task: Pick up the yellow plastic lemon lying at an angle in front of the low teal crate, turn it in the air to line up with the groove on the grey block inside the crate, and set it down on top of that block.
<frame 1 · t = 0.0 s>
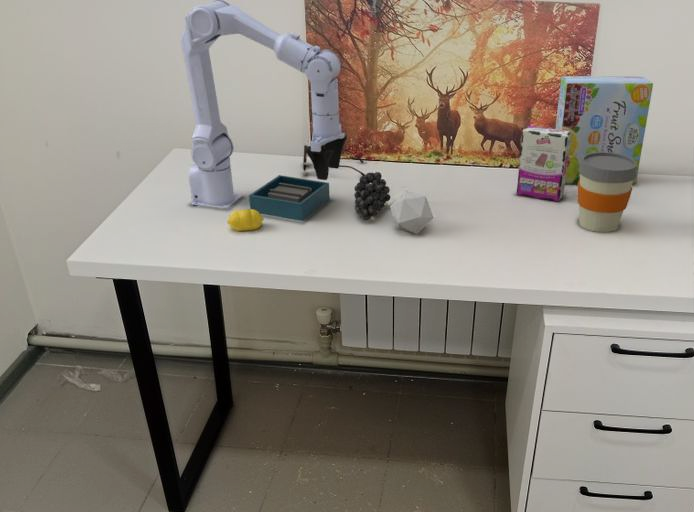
hand: (328, 173, 164), 10 cm above the table, tool pointing down, fingers open, 7 cm apart
snack box: (591, 179, 194), on the table
die: (411, 229, 165), on the table
sunglasses: (334, 170, 195), on the table
lemon: (246, 229, 162), on the table
reusable coffee cup: (598, 224, 169), on the table
grey block: (291, 205, 173), point 1 cm above the table, touching crate
crate: (291, 207, 173), on the table
candy bar box: (539, 196, 183), on the table
fruit: (368, 213, 172), on the table
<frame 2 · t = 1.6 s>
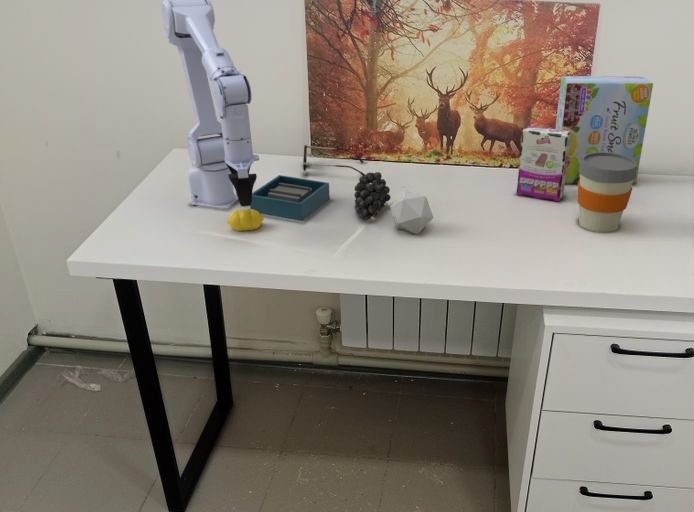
hand: (244, 198, 158), 7 cm above the table, tool pointing down, fingers open, 7 cm apart
nothing on the table moved.
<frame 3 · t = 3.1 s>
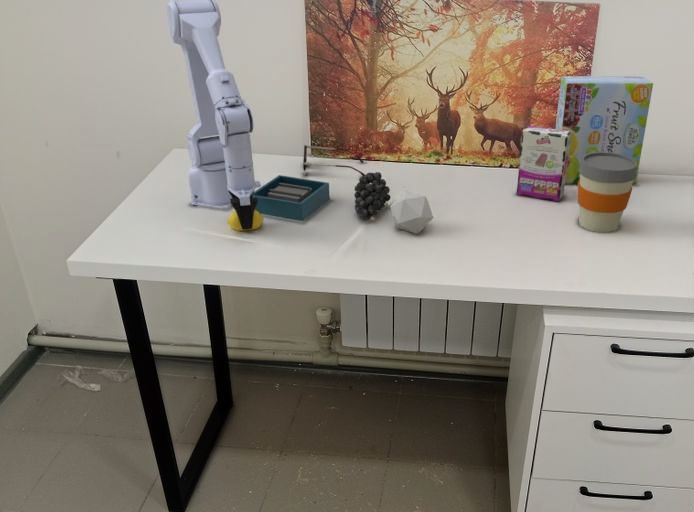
hand: (246, 224, 161), 1 cm above the table, tool pointing down, fingers closed on lemon, 4 cm apart
lemon: (246, 229, 162), on the table, touching gripper
everything else where it was.
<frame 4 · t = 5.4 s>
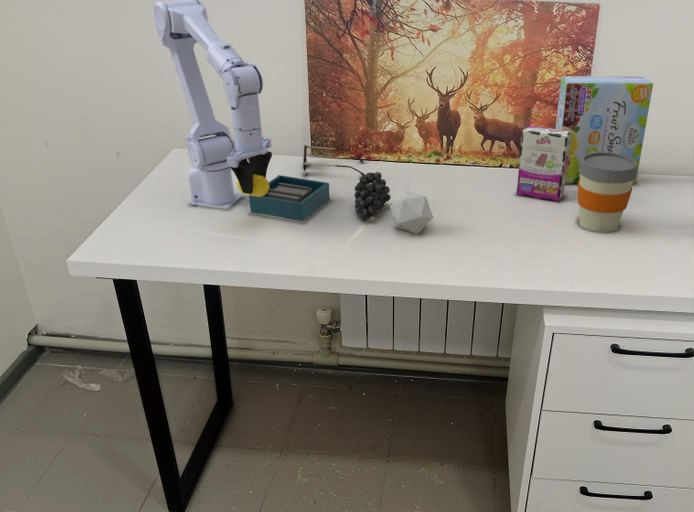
hand: (253, 188, 160), 8 cm above the table, tool pointing down, fingers closed on lemon, 4 cm apart
lemon: (254, 195, 161), point 7 cm above the table, touching gripper
everything else where it was.
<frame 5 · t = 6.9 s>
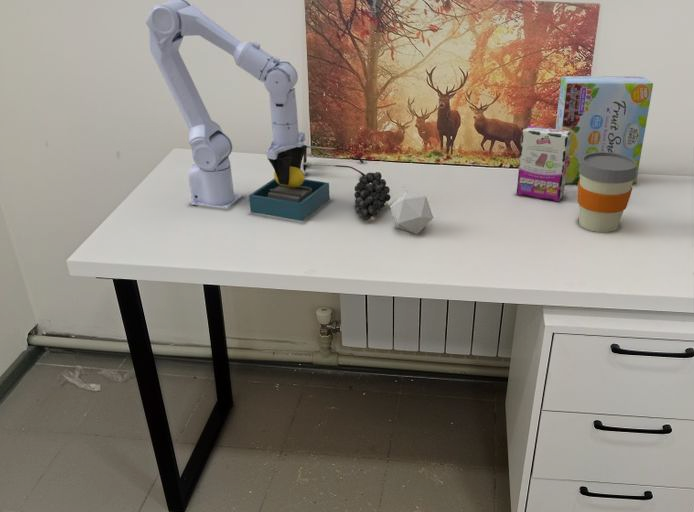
hand: (289, 180, 169), 7 cm above the table, tool pointing down, fingers closed on lemon, 4 cm apart
lemon: (289, 186, 170), point 5 cm above the table, touching gripper
everything else where it was.
when the fingers open (5 cm above the table, at t = 7.8 s): lemon stays where it is, resting on grey block.
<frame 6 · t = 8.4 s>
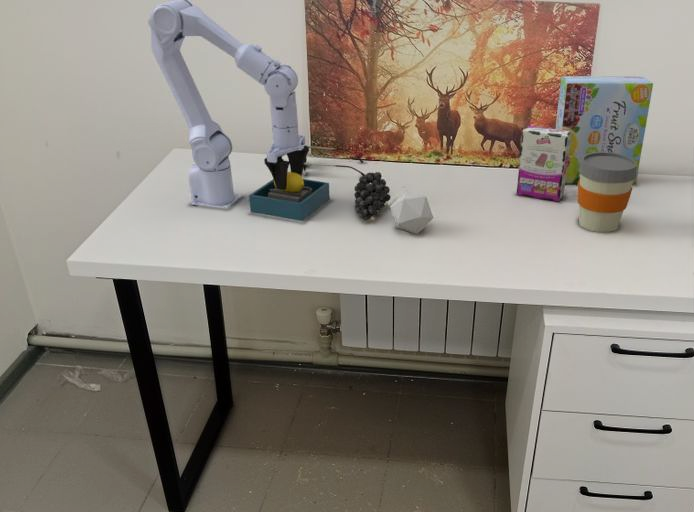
hand: (289, 183, 170), 6 cm above the table, tool pointing down, fingers open, 7 cm apart
lemon: (290, 190, 171), point 4 cm above the table, tilted 10°, touching grey block
grey block: (291, 205, 173), point 1 cm above the table, touching crate, lemon
everything else where it was.
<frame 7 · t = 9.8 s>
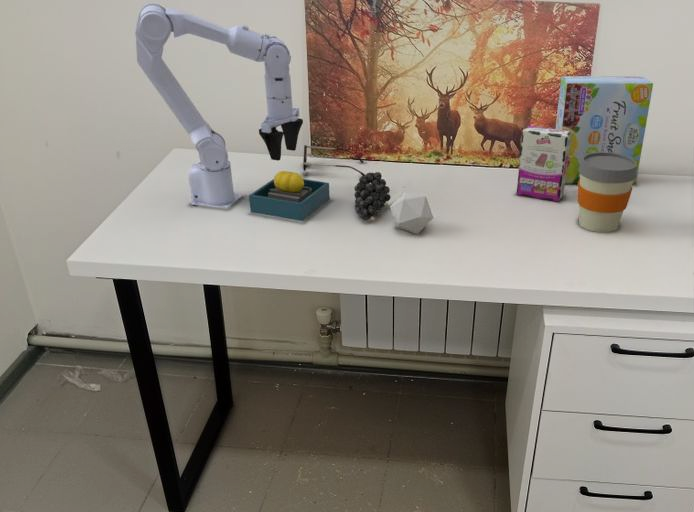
hand: (283, 154, 173), 10 cm above the table, tool pointing down, fingers open, 7 cm apart
nothing on the table moved.
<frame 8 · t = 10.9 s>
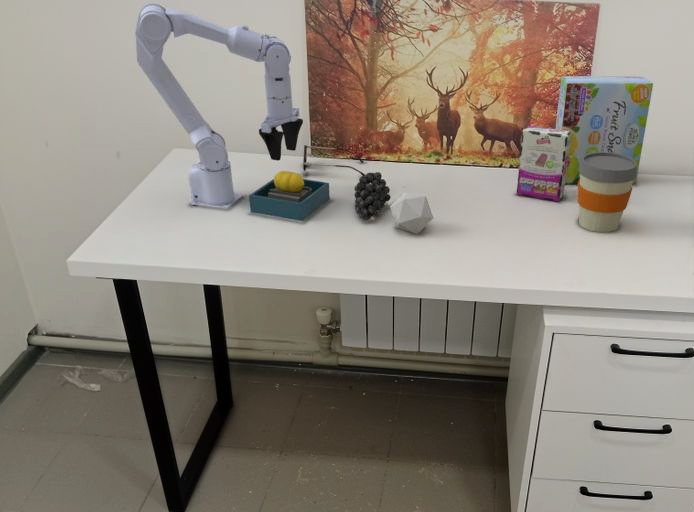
hand: (283, 154, 173), 10 cm above the table, tool pointing down, fingers open, 7 cm apart
nothing on the table moved.
at the end: lemon 0.1 cm off-centre on the grey block, point 3.5 cm above the grey block's base; the gripper is holding nothing; grey block 0.0 cm off-centre in the crate, point 0.6 cm above the crate's base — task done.
